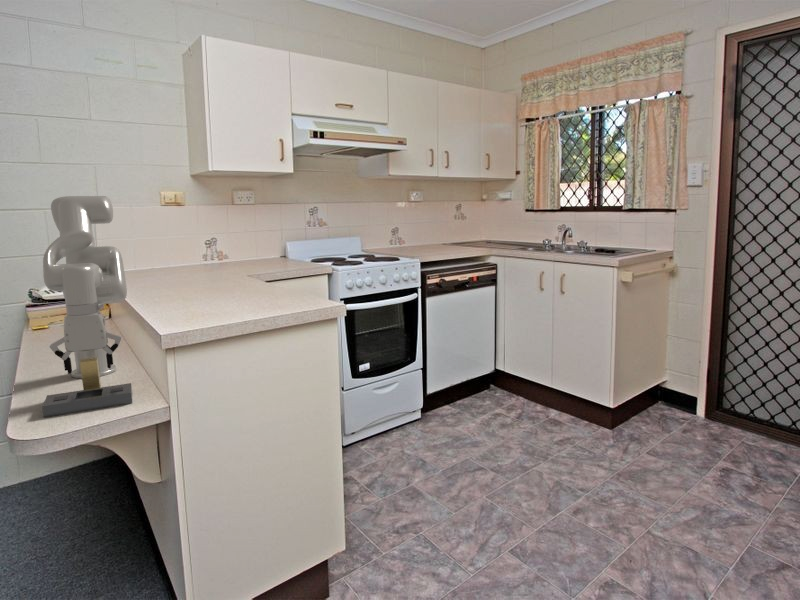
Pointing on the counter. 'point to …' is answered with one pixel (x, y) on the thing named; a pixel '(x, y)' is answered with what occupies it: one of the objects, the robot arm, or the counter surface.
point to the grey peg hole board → (87, 400)
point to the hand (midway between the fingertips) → (90, 369)
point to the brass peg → (90, 373)
